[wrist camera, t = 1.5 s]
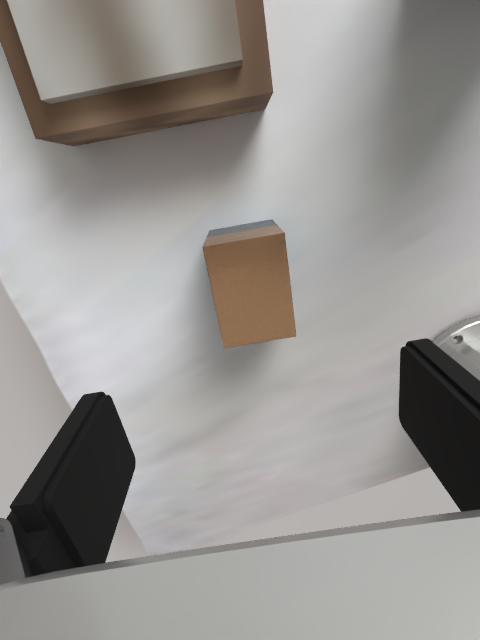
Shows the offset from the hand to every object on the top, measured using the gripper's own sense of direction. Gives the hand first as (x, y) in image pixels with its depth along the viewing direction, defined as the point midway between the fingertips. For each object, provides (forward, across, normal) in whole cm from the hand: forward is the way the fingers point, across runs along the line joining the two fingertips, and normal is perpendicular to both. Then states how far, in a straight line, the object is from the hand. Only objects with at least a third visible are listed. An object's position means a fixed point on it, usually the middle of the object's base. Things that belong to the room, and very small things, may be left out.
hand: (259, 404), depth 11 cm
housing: (+19, -1, 0) cm, 19 cm away
